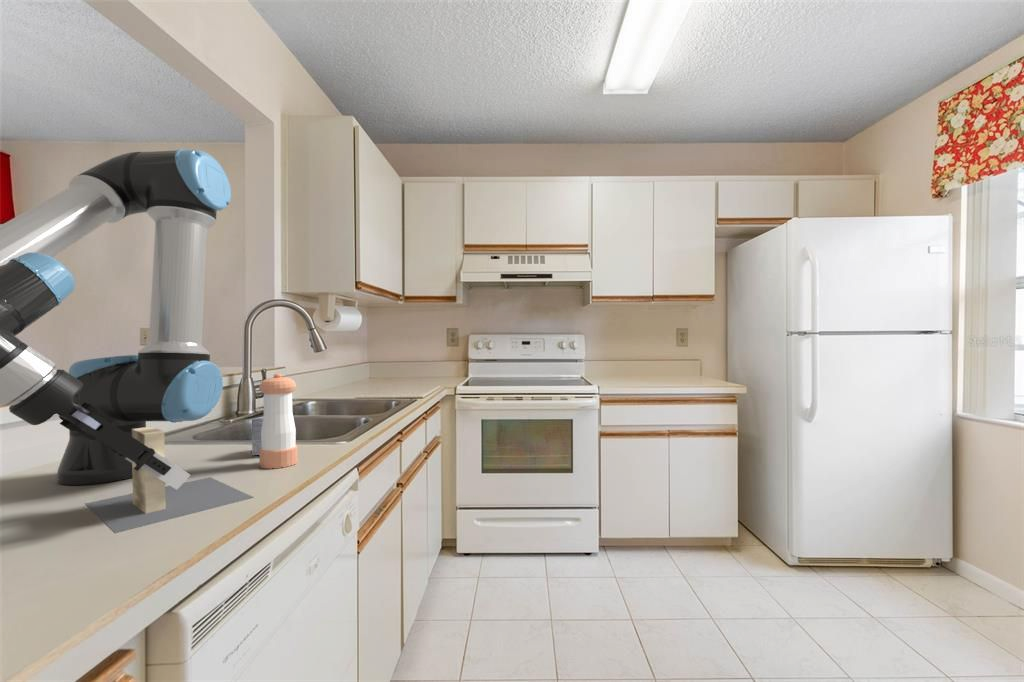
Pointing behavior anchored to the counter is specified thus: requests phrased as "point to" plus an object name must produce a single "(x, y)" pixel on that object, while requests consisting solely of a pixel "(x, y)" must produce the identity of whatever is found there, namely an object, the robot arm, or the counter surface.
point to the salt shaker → (278, 423)
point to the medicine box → (256, 435)
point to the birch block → (145, 484)
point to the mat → (178, 503)
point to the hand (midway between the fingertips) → (174, 477)
